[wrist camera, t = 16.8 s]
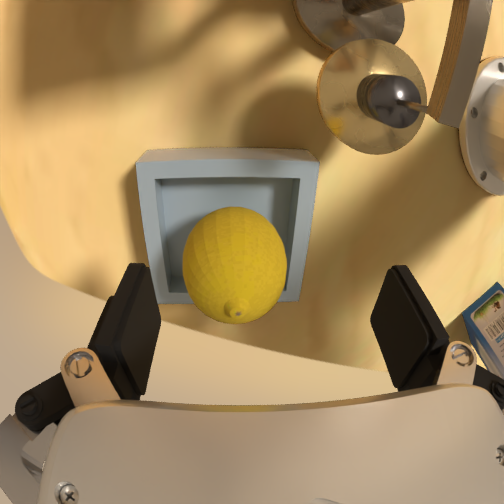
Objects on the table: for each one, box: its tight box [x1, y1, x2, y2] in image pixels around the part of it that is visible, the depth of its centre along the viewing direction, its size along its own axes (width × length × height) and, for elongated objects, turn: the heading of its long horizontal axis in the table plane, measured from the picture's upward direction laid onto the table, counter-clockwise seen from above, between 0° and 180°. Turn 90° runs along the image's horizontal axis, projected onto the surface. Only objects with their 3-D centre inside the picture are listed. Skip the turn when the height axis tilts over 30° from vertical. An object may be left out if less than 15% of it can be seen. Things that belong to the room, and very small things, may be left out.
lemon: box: [182, 206, 287, 324], centre depth 16 cm, size 6×6×8 cm
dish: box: [136, 147, 320, 304], centre depth 19 cm, size 10×10×3 cm
